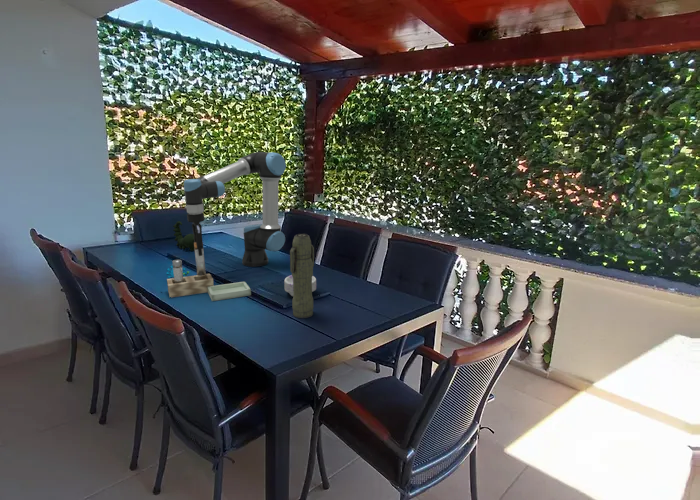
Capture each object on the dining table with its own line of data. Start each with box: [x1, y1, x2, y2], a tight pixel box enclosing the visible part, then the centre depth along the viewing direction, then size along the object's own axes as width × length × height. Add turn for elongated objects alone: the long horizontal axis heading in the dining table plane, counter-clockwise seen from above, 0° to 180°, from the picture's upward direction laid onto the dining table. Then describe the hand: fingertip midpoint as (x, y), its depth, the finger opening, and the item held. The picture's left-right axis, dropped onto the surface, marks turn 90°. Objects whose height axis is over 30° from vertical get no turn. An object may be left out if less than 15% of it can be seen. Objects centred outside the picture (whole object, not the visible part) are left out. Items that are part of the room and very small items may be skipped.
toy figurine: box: [172, 220, 195, 252], centre depth 274 cm, size 9×19×25 cm
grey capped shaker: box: [172, 259, 184, 283], centre depth 201 cm, size 4×4×16 cm
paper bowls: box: [283, 274, 317, 297], centre depth 202 cm, size 15×15×8 cm
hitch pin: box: [194, 242, 207, 276], centre depth 203 cm, size 4×4×16 cm
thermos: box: [289, 233, 315, 319], centre depth 177 cm, size 9×12×35 cm
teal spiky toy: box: [166, 265, 190, 279], centre depth 220 cm, size 11×6×10 cm
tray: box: [207, 281, 252, 302], centre depth 202 cm, size 18×12×3 cm, turn 117°
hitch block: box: [166, 273, 215, 298], centre depth 204 cm, size 20×10×6 cm, turn 117°
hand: (200, 260), depth 203 cm, fingers closed on hitch pin, 4 cm apart
